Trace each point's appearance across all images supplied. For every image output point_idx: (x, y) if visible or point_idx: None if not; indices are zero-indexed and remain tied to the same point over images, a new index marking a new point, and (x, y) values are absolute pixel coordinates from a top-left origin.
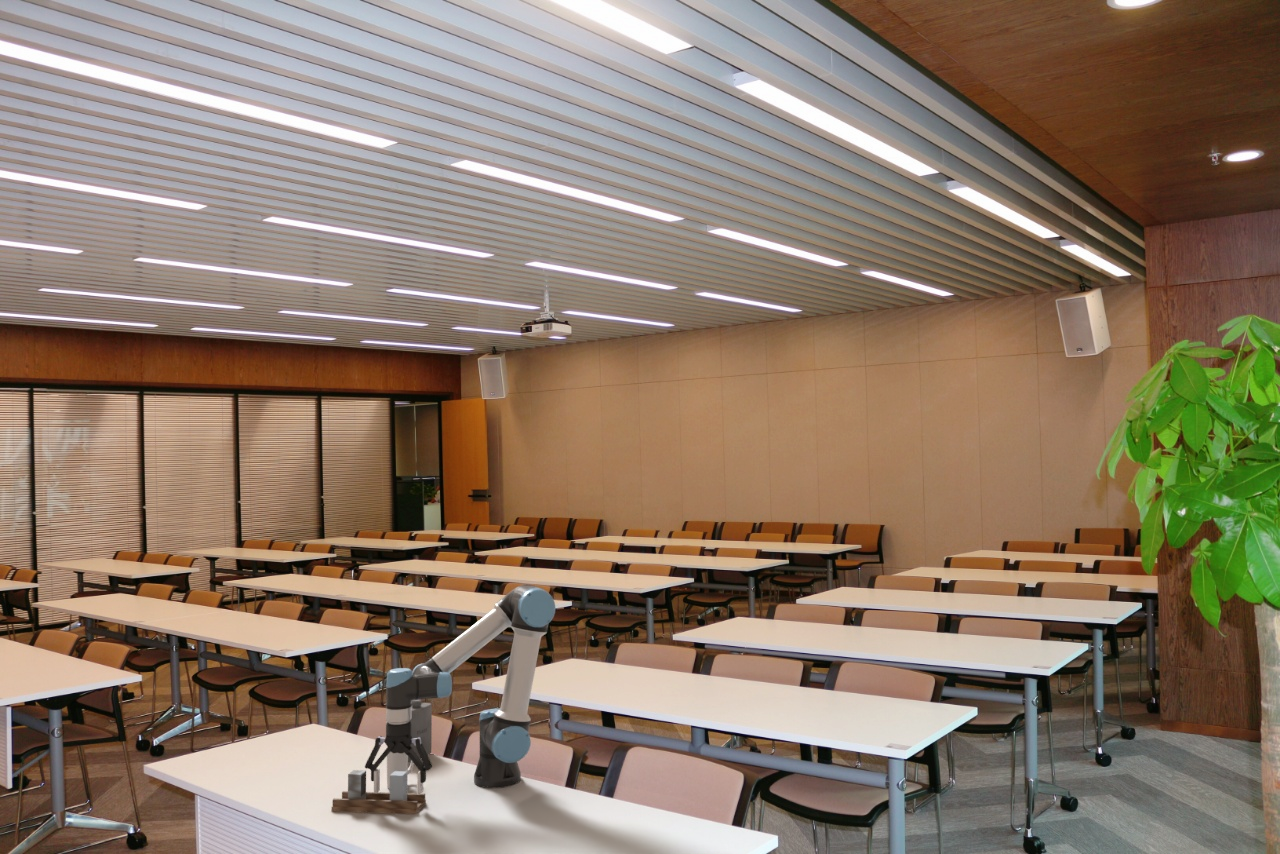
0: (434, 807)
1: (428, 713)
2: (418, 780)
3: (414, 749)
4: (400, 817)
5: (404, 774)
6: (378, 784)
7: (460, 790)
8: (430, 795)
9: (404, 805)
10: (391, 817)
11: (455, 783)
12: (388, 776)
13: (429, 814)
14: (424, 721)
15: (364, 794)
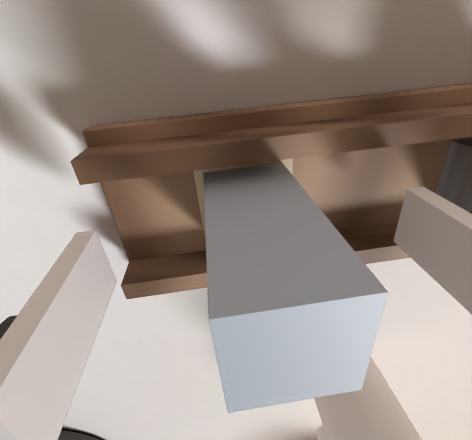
0: (65, 241)
1: None
2: (31, 317)
3: None
4: (150, 46)
5: (216, 356)
6: (430, 252)
7: (102, 395)
8: (181, 340)
9: (166, 142)
10: (209, 33)
11: (161, 423)
12: (387, 391)
13: (4, 142)
14: None
15: (467, 207)
